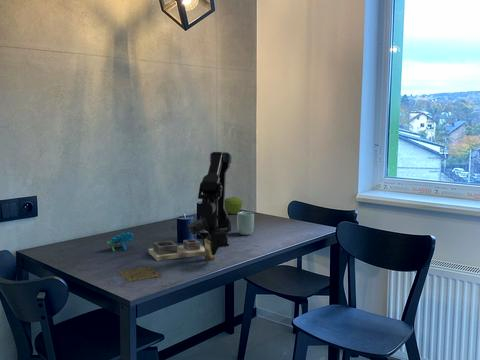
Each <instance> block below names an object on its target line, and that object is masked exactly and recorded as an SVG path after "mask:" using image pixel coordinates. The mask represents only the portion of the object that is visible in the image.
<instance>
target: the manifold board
mask: <svg viewBox="0 0 480 360" xmlns="http://www.w3.org/2000/svg"><path fill="white" fill-rule="evenodd" d="M148 254H149V255H150V256H152V257H153V258H154V260H156V261H167V260H174V259H181V258H191V257H199V256H205V248H204V244H202V243H201V241H198V240H197V239H196V238H193V239H184V240H182V245H178V244H176V243H175V242H173V241H172V240H166V241H155V242H153V243H152V248H148Z"/></svg>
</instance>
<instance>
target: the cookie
mask: <svg viewBox="0 0 480 360" xmlns="http://www.w3.org/2000/svg"><path fill="white" fill-rule="evenodd" d="M118 274H120V276H122V277H123V278H124V279H125V280H126V281H127V282H129V283H132V282H139V281H143V280H151V279H155V278H161V277H163V275H162V274H161V273H159V272H158V271H157V270H155V269H154V268H153V267H151V266H142V267H138V268H133V269H124V270H120V271H118Z"/></svg>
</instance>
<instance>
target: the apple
mask: <svg viewBox="0 0 480 360" xmlns="http://www.w3.org/2000/svg"><path fill="white" fill-rule="evenodd" d="M242 207H243V200H242V199H241V198H239V197H236V196H235V197H234V196H231V197H225V209H226V211H227V213H228V215H229V214H230V215H236V214H237V213H238V212H241V211H240V210H241V209H242Z"/></svg>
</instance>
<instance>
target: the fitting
mask: <svg viewBox="0 0 480 360" xmlns="http://www.w3.org/2000/svg"><path fill="white" fill-rule="evenodd" d="M208 238H209V237H208ZM204 242H205V255H204V260H205V261H208V262H209V261H211V262H212V261H215V260H216V254H215V255H212V252H211V244H210V241H209V240H208V239H207V238H204Z"/></svg>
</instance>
